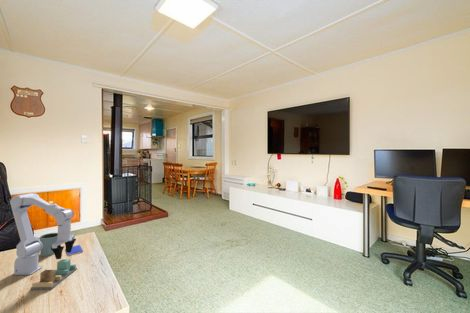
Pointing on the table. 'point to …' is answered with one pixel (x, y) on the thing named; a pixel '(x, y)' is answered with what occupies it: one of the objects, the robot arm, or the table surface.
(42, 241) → the grey-green bucket
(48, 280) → the walnut plug
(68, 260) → the teal plug
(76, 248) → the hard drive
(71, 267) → the slot comb
